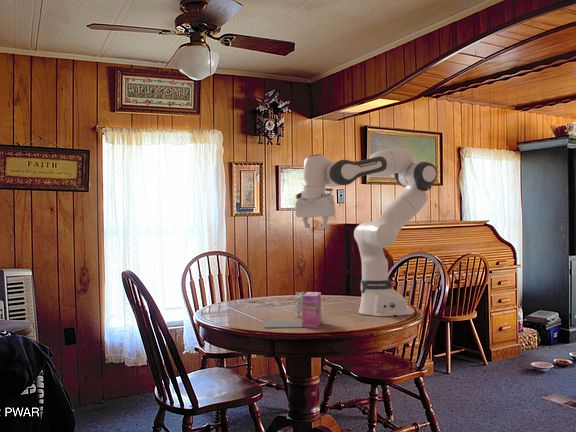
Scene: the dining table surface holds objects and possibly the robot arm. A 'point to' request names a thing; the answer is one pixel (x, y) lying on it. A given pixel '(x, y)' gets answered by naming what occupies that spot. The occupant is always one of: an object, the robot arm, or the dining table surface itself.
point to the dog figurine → (299, 303)
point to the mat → (283, 324)
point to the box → (311, 309)
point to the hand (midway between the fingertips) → (315, 228)
